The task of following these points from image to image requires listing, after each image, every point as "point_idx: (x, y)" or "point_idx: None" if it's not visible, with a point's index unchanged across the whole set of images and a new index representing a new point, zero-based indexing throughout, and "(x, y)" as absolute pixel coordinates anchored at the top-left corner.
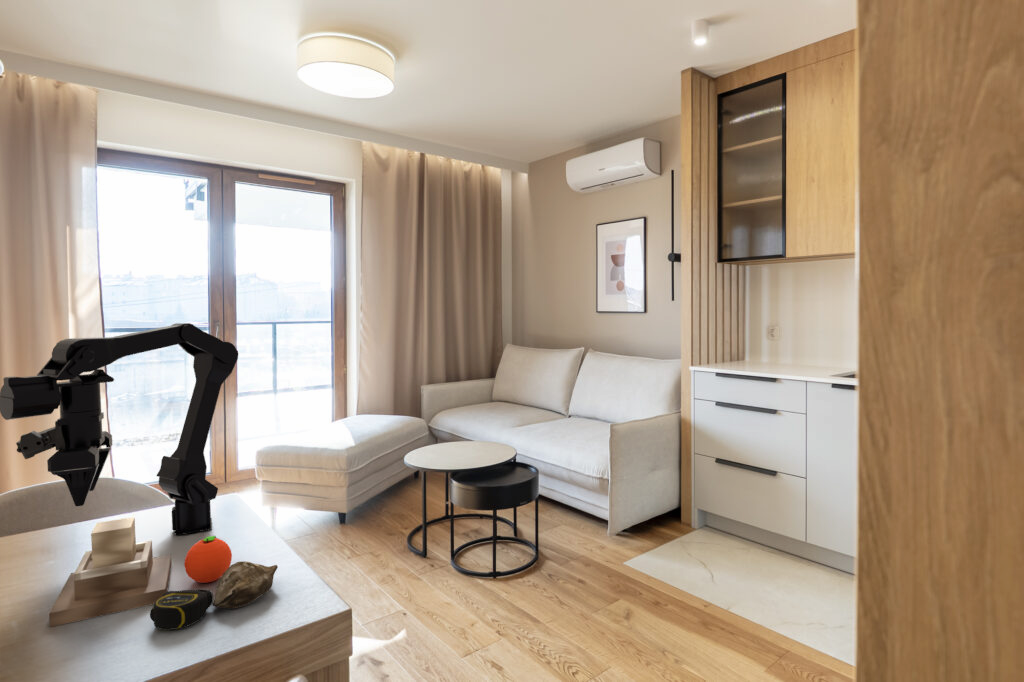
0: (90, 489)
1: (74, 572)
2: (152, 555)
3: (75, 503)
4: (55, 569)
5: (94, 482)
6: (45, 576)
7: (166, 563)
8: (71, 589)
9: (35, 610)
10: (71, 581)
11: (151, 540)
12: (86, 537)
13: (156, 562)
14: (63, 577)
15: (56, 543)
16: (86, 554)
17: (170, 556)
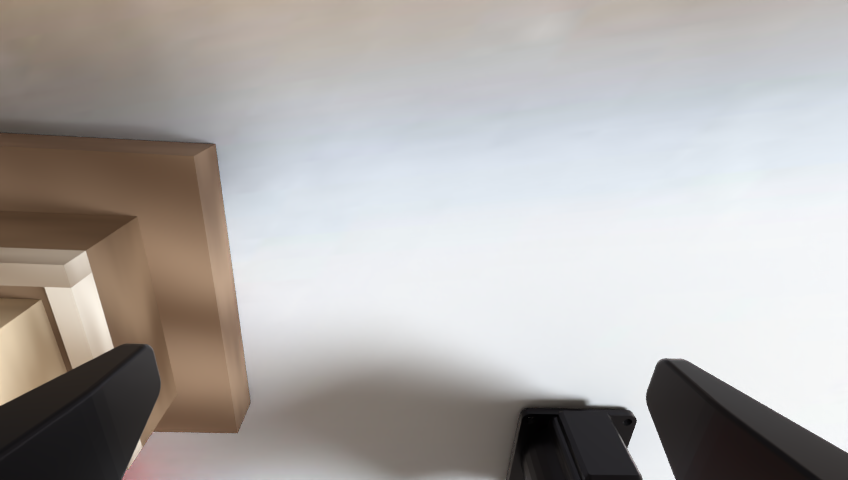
0: (654, 393)
1: (196, 168)
2: (160, 416)
3: (93, 364)
4: (433, 58)
5: (685, 477)
6: (368, 29)
7: (157, 425)
8: (6, 180)
9: (7, 51)
10: (94, 169)
11: (127, 467)
12: (780, 132)
13: (181, 401)
14: (317, 103)
15: (811, 9)
16: (19, 272)
17: (220, 432)
